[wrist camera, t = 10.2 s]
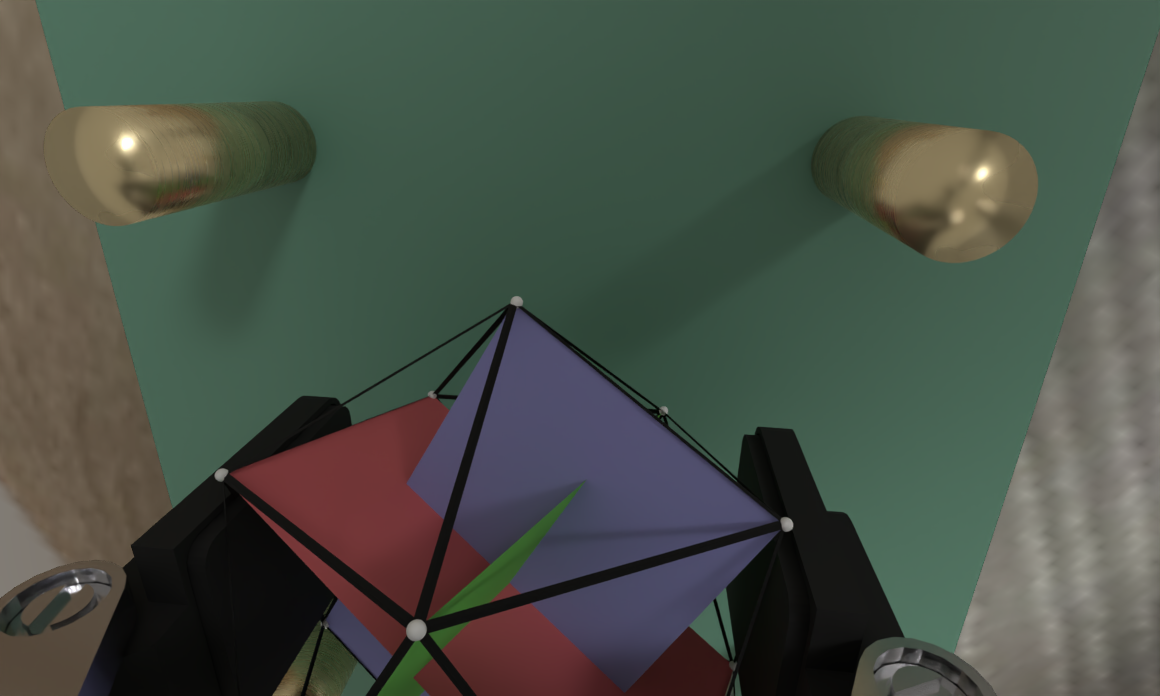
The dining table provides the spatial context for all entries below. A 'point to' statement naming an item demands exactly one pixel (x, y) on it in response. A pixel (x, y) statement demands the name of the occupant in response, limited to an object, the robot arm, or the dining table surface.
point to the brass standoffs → (288, 151)
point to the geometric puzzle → (517, 532)
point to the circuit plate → (625, 229)
